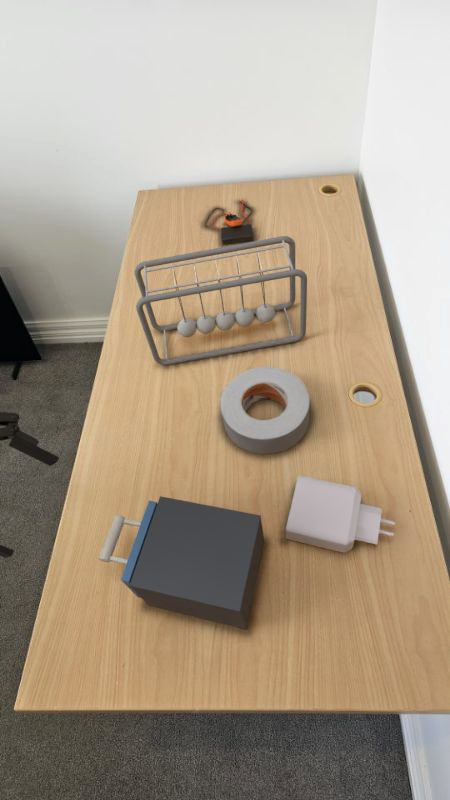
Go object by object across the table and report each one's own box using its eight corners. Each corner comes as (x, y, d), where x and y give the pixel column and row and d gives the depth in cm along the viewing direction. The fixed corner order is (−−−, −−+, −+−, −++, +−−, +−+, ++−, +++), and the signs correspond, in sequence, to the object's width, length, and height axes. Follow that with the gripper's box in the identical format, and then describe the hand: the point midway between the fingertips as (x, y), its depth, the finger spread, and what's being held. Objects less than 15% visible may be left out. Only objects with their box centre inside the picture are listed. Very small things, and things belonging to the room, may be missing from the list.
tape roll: (207, 409, 91) (203, 393, 87) (275, 369, 95) (274, 352, 91) (255, 470, 83) (253, 456, 79) (327, 424, 87) (329, 408, 82)
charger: (388, 565, 72) (285, 540, 76) (394, 507, 77) (298, 486, 80) (393, 554, 68) (285, 528, 72) (400, 493, 73) (298, 472, 77)
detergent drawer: (106, 589, 73) (86, 571, 66) (132, 517, 80) (116, 494, 73) (227, 619, 69) (219, 603, 62) (245, 540, 75) (240, 518, 68)
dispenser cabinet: (148, 605, 72) (129, 585, 64) (174, 524, 79) (159, 495, 71) (246, 630, 69) (239, 611, 60) (264, 542, 76) (260, 515, 67)
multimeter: (207, 202, 129) (205, 190, 127) (253, 198, 128) (252, 186, 125) (203, 246, 119) (200, 234, 116) (253, 243, 118) (252, 230, 115)
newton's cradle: (294, 304, 104) (294, 232, 90) (306, 341, 98) (308, 269, 84) (153, 330, 105) (131, 262, 90) (156, 368, 99) (132, 301, 84)
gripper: (-77, 362, 69) (61, 435, 77) (-205, 535, 55) (-20, 600, 64) (-68, 340, 63) (80, 421, 72) (-207, 526, 50) (-4, 598, 58)
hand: (34, 505), depth 68 cm, fingers open, 13 cm apart
